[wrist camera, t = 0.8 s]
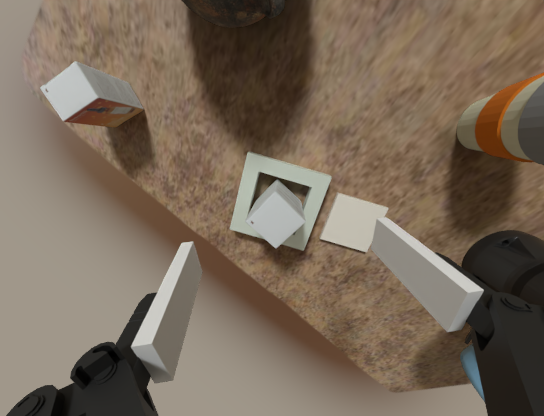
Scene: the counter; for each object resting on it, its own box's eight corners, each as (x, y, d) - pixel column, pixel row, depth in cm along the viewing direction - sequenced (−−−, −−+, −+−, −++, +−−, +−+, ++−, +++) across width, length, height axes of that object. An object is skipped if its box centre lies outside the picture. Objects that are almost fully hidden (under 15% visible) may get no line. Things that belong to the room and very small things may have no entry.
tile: (386, 206, 42) (388, 208, 41) (364, 250, 46) (366, 252, 45) (337, 192, 42) (338, 193, 41) (319, 236, 46) (320, 238, 45)
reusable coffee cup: (439, 107, 36) (538, 82, 22) (518, 71, 34) (687, 17, 19) (453, 170, 39) (548, 185, 25) (526, 141, 37) (678, 139, 22)
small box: (116, 128, 42) (62, 123, 32) (99, 101, 40) (37, 87, 30) (145, 109, 40) (98, 98, 30) (129, 81, 39) (74, 59, 29)
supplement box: (278, 222, 45) (275, 250, 33) (254, 200, 44) (242, 221, 32) (302, 201, 43) (307, 222, 31) (278, 177, 42) (274, 190, 30)
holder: (328, 174, 41) (331, 177, 38) (302, 244, 47) (303, 250, 44) (250, 151, 41) (247, 152, 38) (233, 224, 46) (229, 229, 44)
